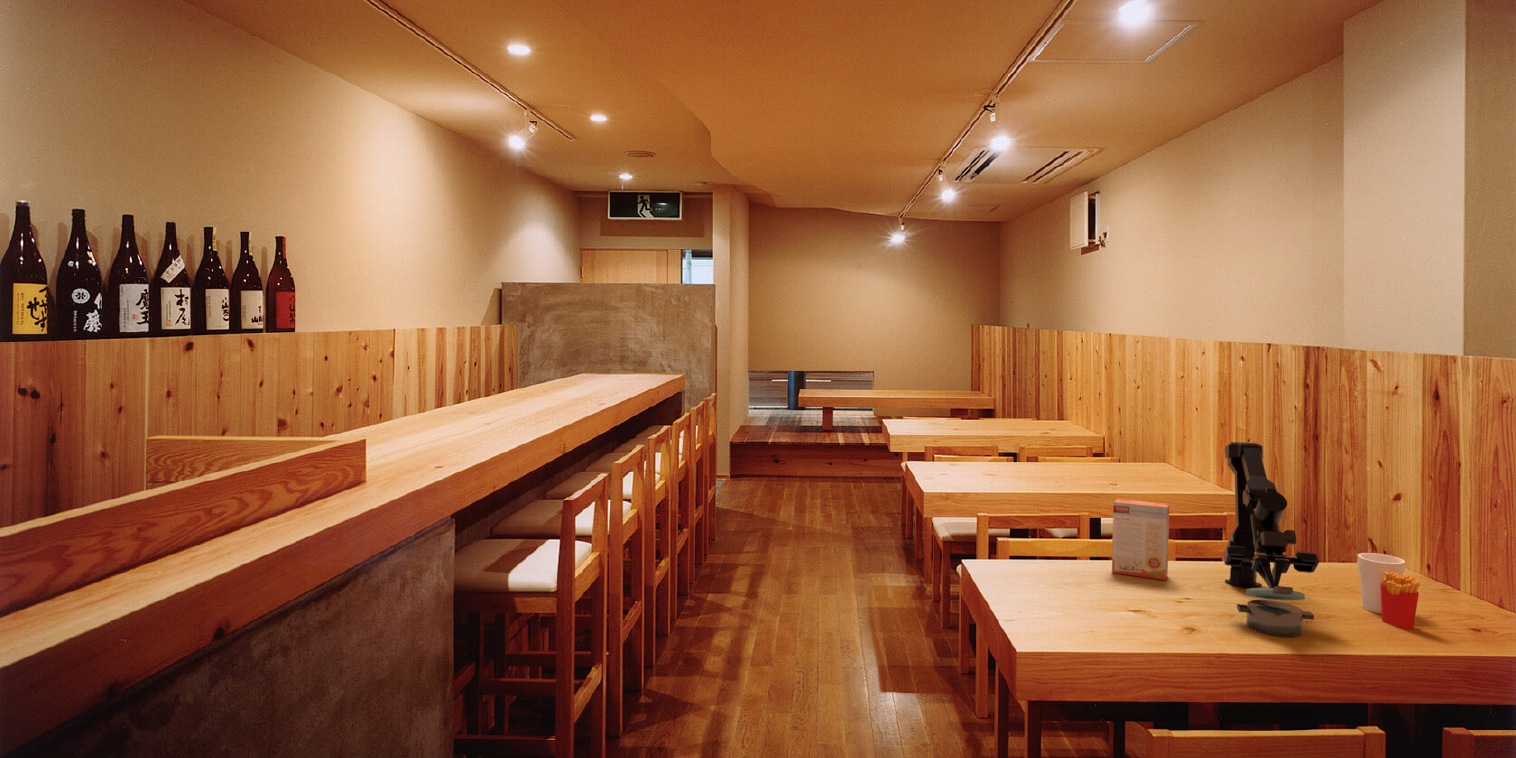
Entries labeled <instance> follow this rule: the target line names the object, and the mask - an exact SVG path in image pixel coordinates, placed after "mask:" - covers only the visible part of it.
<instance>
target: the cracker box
mask: <svg viewBox="0 0 1516 758" xmlns="http://www.w3.org/2000/svg"><path fill="white" fill-rule="evenodd" d="M1112 509H1113V510H1112V511H1113V512H1112V515H1113V516H1112V545H1111V546H1112V551H1111V553H1112V554H1111V573H1112V574H1118V575H1125V576H1131V577H1141V578H1146V579H1153V580H1159V581H1166V580H1167V577H1168V574H1169V572H1168V570H1169V569H1168V568H1169V565H1168V564H1169V534H1170V533H1169V530H1170V528H1169V527H1170V503H1166V502H1165V503H1164V502H1163V503H1162V502H1154V501H1145V500H1134V499H1123V498H1122V499H1121V498H1116V499H1115V500H1114V501H1113V507H1112Z"/></svg>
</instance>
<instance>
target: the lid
mask: <svg viewBox="0 0 1516 758" xmlns="http://www.w3.org/2000/svg"><path fill="white" fill-rule="evenodd" d="M1245 594H1246V596H1249V597H1253V598H1257V599H1258V598H1259V599H1265V600H1275V601H1276V600H1277V601H1303V600H1305V599H1306V596H1305V593H1304V592H1300V591H1295V590H1294V588H1293V587H1292V586H1291V587H1290V586H1281V585H1279V586H1276V587H1274V588H1273V589H1270V588H1269V587H1268V588H1267V587H1266V588H1264V587H1253V588H1248V589H1246V588H1245Z"/></svg>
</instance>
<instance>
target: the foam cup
mask: <svg viewBox="0 0 1516 758" xmlns="http://www.w3.org/2000/svg"><path fill="white" fill-rule="evenodd" d="M1357 566H1358V573H1359V584H1360V592H1361V601H1362V603H1361V604H1362V608H1363V609H1364V610H1367V611H1369V612H1372V613H1377V614H1382V610H1381V587H1380V583H1383V576H1384V572H1389V573H1390V572H1394V573H1398V574H1402V575H1403V576H1404V573H1405V571H1406V570H1405V569H1406V561H1405V559H1402V558H1400V557H1397V556H1394V555H1391V554H1390V555H1388V554H1384V553H1383V554H1382V553H1375V552H1374V553H1373V552H1362V553H1361V552H1360V553H1357Z"/></svg>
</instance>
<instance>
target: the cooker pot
mask: <svg viewBox="0 0 1516 758" xmlns="http://www.w3.org/2000/svg"><path fill="white" fill-rule="evenodd" d="M1246 604H1247V605H1246ZM1246 604H1239V603H1236V609H1237V611H1238V612H1239V613H1246V626H1247V628H1249V629H1250V630H1252V629H1253V630H1252V631H1254V630H1256V631H1255V632H1257V631H1258V632H1257V633H1260V634H1263V633H1264V634H1263V635H1266V634H1267V635H1266V636H1272V637H1279V638H1299V637H1301V636H1302V635H1303V624H1304V623H1303V621H1304V620H1312V621H1313V620H1314V619H1315V615H1314V614H1313V613H1312V612H1311V611H1307V610H1302V609H1301V608H1300V607H1298V606H1296V605H1293V604H1290V603H1287V602H1282V601H1280V600H1277V601H1276V600H1273V599H1252V600H1249V601H1248V602H1247V603H1246ZM1300 635H1301V636H1300Z"/></svg>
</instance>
